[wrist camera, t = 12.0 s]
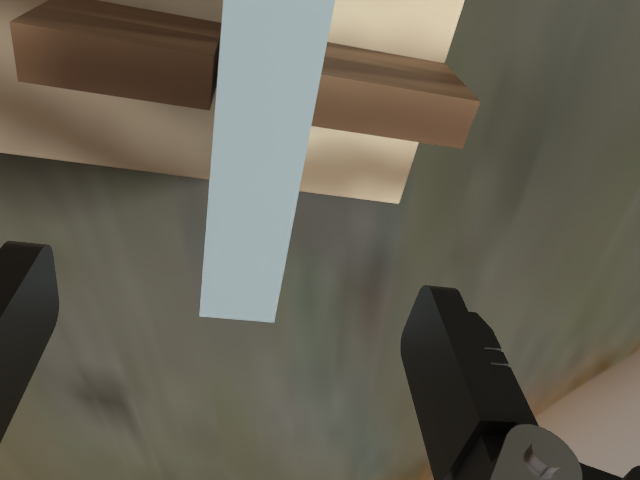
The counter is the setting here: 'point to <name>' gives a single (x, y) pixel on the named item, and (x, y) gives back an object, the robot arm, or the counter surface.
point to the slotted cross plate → (259, 149)
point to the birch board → (196, 124)
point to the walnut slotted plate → (202, 70)
